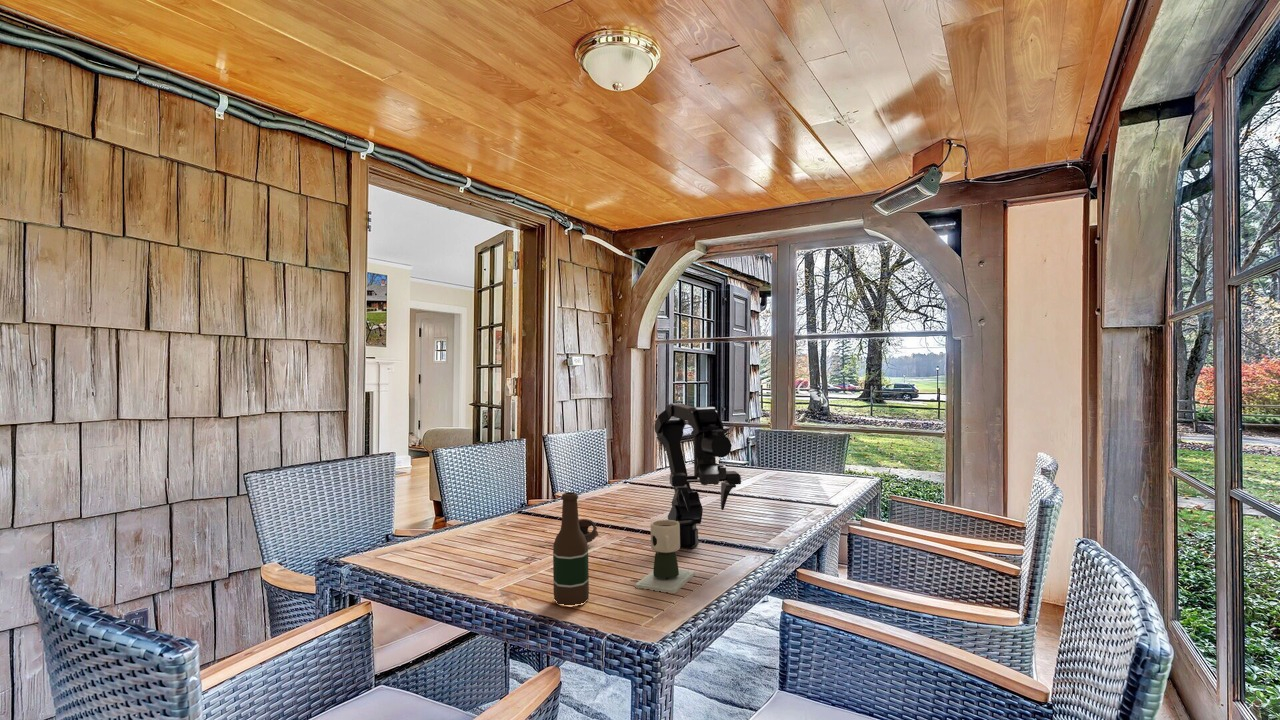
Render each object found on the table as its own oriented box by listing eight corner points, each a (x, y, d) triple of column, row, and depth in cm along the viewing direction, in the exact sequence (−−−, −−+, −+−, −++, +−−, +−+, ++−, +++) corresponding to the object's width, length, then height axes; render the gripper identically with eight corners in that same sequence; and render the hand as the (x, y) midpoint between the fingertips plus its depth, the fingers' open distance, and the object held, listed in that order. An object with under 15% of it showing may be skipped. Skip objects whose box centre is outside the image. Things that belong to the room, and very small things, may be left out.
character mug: (650, 569, 149) (649, 518, 150) (678, 569, 150) (677, 517, 150) (652, 585, 138) (651, 529, 139) (683, 584, 139) (682, 528, 139)
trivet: (635, 587, 140) (635, 583, 140) (658, 569, 152) (658, 565, 152) (674, 593, 135) (674, 589, 135) (695, 574, 148) (695, 570, 148)
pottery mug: (602, 540, 182) (603, 520, 178) (589, 562, 174) (591, 542, 170) (566, 528, 185) (567, 508, 181) (552, 550, 177) (553, 529, 173)
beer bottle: (554, 595, 135) (553, 490, 136) (588, 594, 136) (587, 489, 137) (552, 609, 128) (551, 497, 128) (588, 607, 128) (587, 496, 129)
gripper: (674, 458, 152) (675, 519, 152) (745, 455, 154) (747, 516, 154) (668, 452, 163) (669, 509, 163) (735, 450, 165) (736, 506, 165)
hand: (705, 510), depth 161 cm, fingers open, 9 cm apart
